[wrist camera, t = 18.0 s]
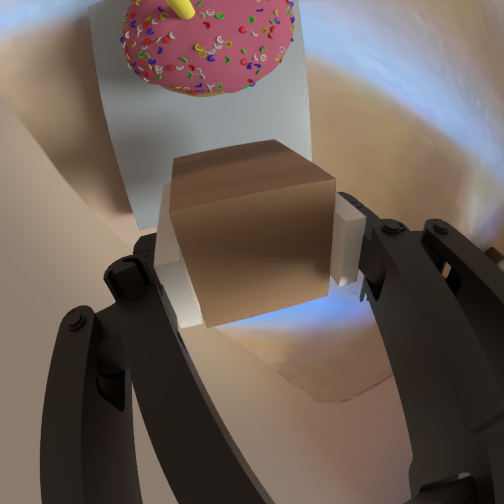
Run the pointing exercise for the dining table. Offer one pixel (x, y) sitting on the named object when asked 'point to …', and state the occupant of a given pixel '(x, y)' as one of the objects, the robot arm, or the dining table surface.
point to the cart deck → (189, 112)
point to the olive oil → (496, 258)
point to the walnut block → (252, 228)
